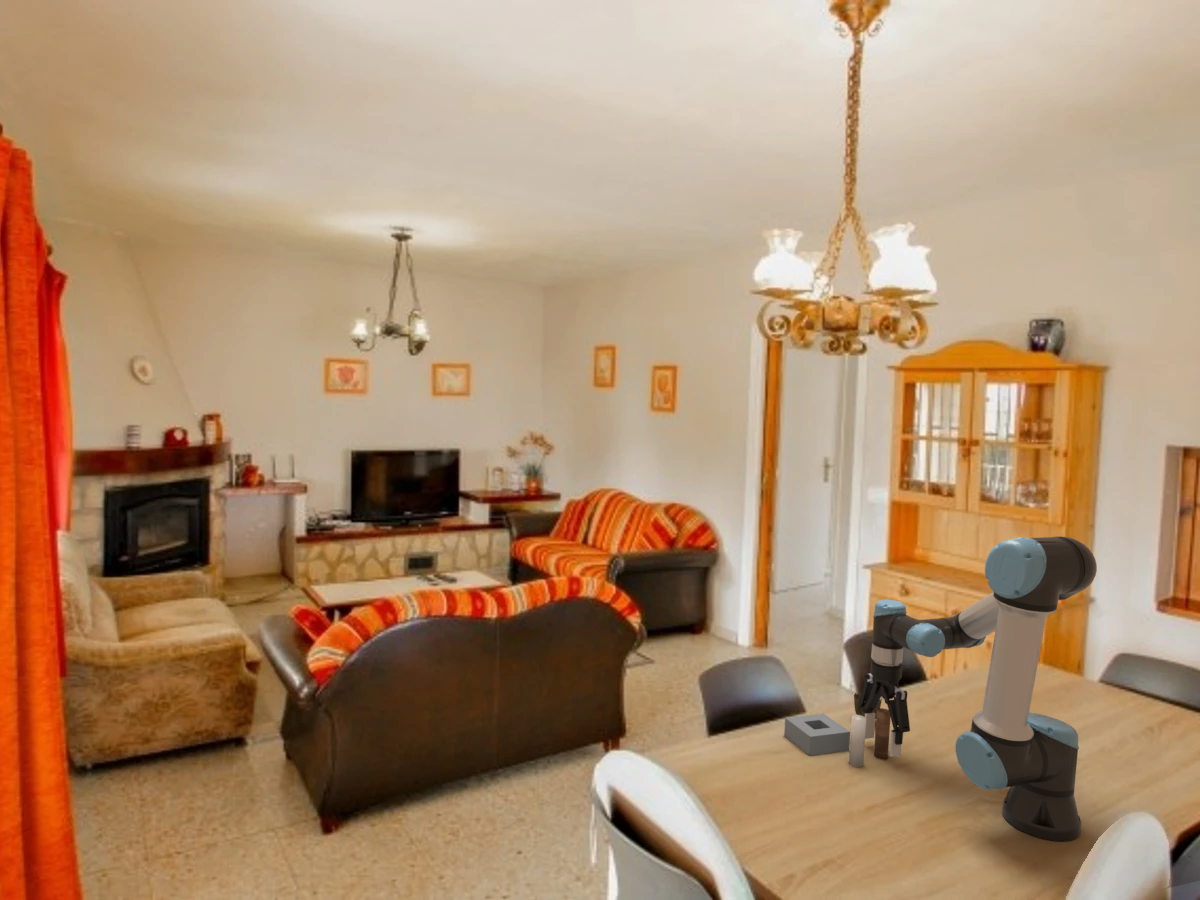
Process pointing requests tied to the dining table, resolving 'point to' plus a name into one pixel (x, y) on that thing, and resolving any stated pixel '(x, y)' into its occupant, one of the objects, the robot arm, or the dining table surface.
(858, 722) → the pale grey cylinder
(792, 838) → the dining table surface
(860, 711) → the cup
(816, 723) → the socket block
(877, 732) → the walnut peg
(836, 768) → the dining table surface
